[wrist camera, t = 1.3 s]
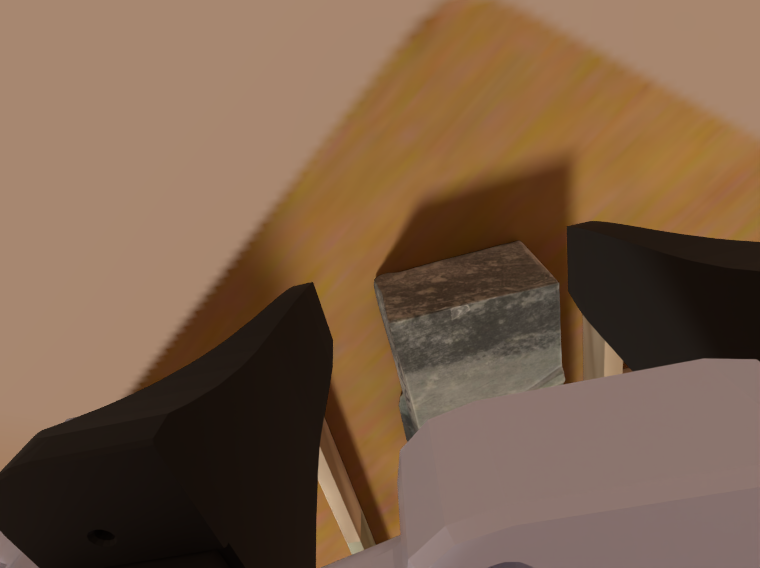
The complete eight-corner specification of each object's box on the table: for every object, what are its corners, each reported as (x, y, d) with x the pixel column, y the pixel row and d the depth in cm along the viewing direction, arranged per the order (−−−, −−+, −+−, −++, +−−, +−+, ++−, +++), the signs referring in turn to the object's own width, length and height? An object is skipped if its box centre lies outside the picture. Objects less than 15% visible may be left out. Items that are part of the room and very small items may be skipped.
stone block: (412, 448, 29) (419, 519, 24) (360, 272, 23) (356, 322, 18) (538, 425, 28) (571, 494, 23) (520, 235, 22) (561, 278, 17)
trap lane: (373, 567, 35) (373, 601, 33) (284, 358, 25) (275, 386, 22) (660, 522, 33) (681, 554, 30) (691, 273, 23) (726, 294, 20)
